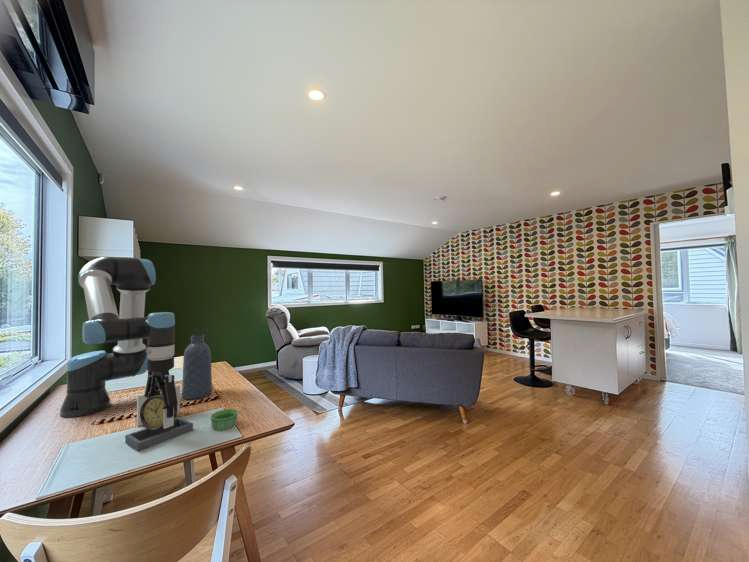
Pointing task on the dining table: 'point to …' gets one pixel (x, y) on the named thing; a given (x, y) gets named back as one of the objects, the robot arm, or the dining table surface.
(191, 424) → the dock
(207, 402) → the dining table surface
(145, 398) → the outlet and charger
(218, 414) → the ramekin
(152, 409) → the alarm clock
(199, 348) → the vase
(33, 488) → the dining table surface
